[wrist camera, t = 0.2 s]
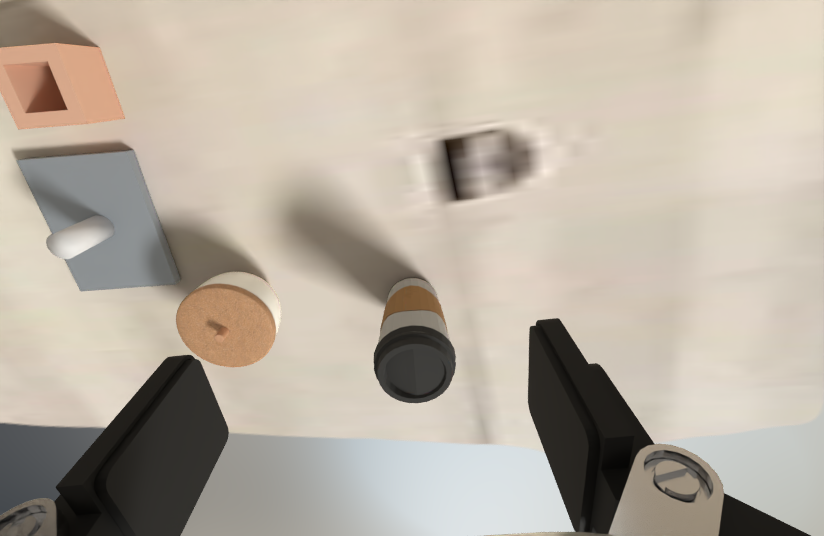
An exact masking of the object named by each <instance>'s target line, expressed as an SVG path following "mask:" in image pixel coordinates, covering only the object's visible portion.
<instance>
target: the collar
mask: <svg viewBox="0 0 824 536" xmlns="http://www.w3.org/2000/svg"><path fill="white" fill-rule="evenodd" d="M0 92H1V94H2V96H3V98H4V100H5V102H6V104H7V106H8V109H9V111H10V113H11V115H12V117H13V119H14V121H15V123H16V125H17V128H18V129H30V128H42V127H54V126H66V125H79V124H90V123H97V122H104V121H111V120H118V119H125V117H124V114H123V111H122V108H121V106H120V103H119V100H118V97H117V95H116V92H115V89H114V86H113V84H112V81H111V78H110V75H109V72H108V70H107V67H106V64H105V61H104V59H103V56H102V53H101V50H100V47H90V46H80V45H71V44H61V43H49V44H37V45H25V46H13V47H2V48H0Z"/></svg>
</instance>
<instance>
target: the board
mask: <svg viewBox="0 0 824 536" xmlns="http://www.w3.org/2000/svg"><path fill="white" fill-rule="evenodd" d="M16 161H17V163H18V165H19V167H20V169H21V171H22V173H23V175H24V177H25V179H26V181H27V183H28V185H29V187H30V189H31V191H32V194H33V196H34V198H35V200H36V202H37V204H38V206H39V208H40V210H41V212H42V214H43V216H44V218H45V220H46V222H47V224H48V226H49V228H50V230H51V232H52V235H50V236H49V237H48V238H47V241H46V244H47V247H48V249H49V250H50V252H51V253H52V254H54V255H55V256H57V257H59V258H62V259H65V261H66V263H67V265H68V267H69V269H70V271H71V273H72V275H73V277H74V279H75V281H76V283H77V285H78V287H79V289H80V291H92V290H106V289H119V288H133V287H146V286H160V285H173V284H177V283H178V282H179V281H180V280H181V279H180V276H179V273H178V271H177V268H176V265H175V262H174V260H173V257H172V254H171V251H170V249H169V246H168V243H167V240H166V238H165V235H164V232H163V229H162V227H161V224H160V221H159V218H158V216H157V213H156V210H155V207H154V205H153V202H152V199H151V196H150V194H149V191H148V188H147V185H146V183H145V180H144V177H143V174H142V172H141V169H140V166H139V163H138V161H137V158H136V155H135V152H134V150H125V151H112V152H100V153H87V154H75V155H62V156H50V157H37V158H26V159H21V160H16Z"/></svg>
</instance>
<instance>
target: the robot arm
mask: <svg viewBox="0 0 824 536" xmlns="http://www.w3.org/2000/svg"><path fill="white" fill-rule="evenodd" d="M528 404H529V410H530V413H531V416H532V419H533V421H534V424H535V427H536V429H537V432H538V435H539V437H540V440H541V443H542V445H543V448H544V451H545V453H546V456H547V458H548V461H549V464H550V467H551V469H552V472H553V475H554V477H555V480H556V483H557V485H558V488H559V490H560V493H561V496H562V499H563V501H564V504H565V507H566V509H567V512H568V515H569V517H570V520H571V522H572V525H573V528H574V530H575V532H538V533H521V534H504V535H487V536H811V535H808V534H806V533H804V532H802V531H800V530H798V529H796V528H794V527H792V526H790V525H788V524H786V523H784V522H782V521H780V520H777V519H776V518H774V517H772V516H770V515H768V514H766V513H763V512H761V511H759V510H757V509H755V508H753V507H751V506H749V505H747V504H745V503H743V502H741V501H739V500H737V499H735V498H733V497H731V496H729V495H727V494H724V491H723V484H722V483H721V480H720V478H719V476H718V475H717V473H716V472H715V471H714V470H713V469H712V468H711V467H710V465H709V464H708V463H706V462H705V461H704V460H702V459H701V458H700V457H698V456H697V455H695V454H693V453H691V452H689V451H687V450H685V449H683V448H679V447H676V446H673V445H666V444H654V443H653V441H652V440H651V438H650V437H649V435H648V434H647V432H646V431H645V429H644V428H643V427H642V425H641V424H640V422H639V421H638V419H637V418H636V416H635V415H634V413H633V412H632V410H631V409H630V408H629V406H628V405H627V403H626V402H625V400H624V399H623V397H622V396H621V394H620V393H619V391H618V390H617V388H616V387H615V386H614V384H613V383H612V381H611V380H610V378H609V377H608V375H607V374H606V372H605V371H604V369H603V368H602V367H601V366H600V365H599V364H597V363H595V364H588V363H587V361H586V359H585V358H584V356H583V355H582V353H581V352H580V350H579V349H578V347H577V345H576V344H575V342H574V341H573V339H572V338H571V336H570V335H569V333H568V331H567V330H566V328H565V327H564V325H563V324H562V322H561V321H560V320H559V319H558V318H556V319H546V320H538V321H537V322H536V326H531V327H530V334H529V379H528ZM228 433H229V432H228V427H227V424H226V422H225V419H224V417H223V415H222V412H221V410H220V407H219V405H218V403H217V400H216V398H215V395H214V393H213V391H212V388H211V386H210V384H209V381H208V379H207V376H206V374H205V372H204V369H203V367H202V364H201V362H200V361H199V360H197V359H195V358H194V357H193V356H192V355H182V356H172V357H168V358H166V359H165V360H164V361H163V363H162V364H161V365H160V366H159V367H158V368H157V370H156V371H155V372H154V373H153V374H152V375H151V377H150V378H149V379H148V380H147V381H146V382H145V384H144V385H143V386H142V387H141V388H140V389H139V391H138V392H137V393H136V394H135V395H134V396H133V397H132V399H131V400H130V401H129V402H128V403H127V404H126V406H125V407H124V408H123V409H122V410H121V411H120V413H119V414H118V415H117V416H116V417H115V418H114V420H113V421H112V422H111V423H110V424H109V425H108V427H107V428H106V429H105V430H104V431H103V433H102V434H101V435H100V436H99V437H98V438H97V439H96V441H95V442H94V443H93V444H92V445H91V447H90V448H89V449H88V450H87V451H86V452H85V453H84V455H83V456H82V457H81V458H80V459H79V460H78V462H77V463H76V464H75V465H74V466H73V468H72V469H71V470H70V471H69V472H68V473H67V474H66V476H65V477H64V478H63V479H62V480H61V482H60V483H59V484H58V485H57V486H56V489H57V490H58V491H59V492H60V494H61V495H60V496H59V497H58V498H57V499H56V500H55V502H54V501H52V500H50V499H48V498H40V499H35V500H32V501H27V502H25V503H23V504H21V505H18V506H16V507H14V508H12V509H11V510H9V511H7V512H6V513H4V514H2V515H1V516H0V536H180V535H181V533H182V531H183V529H184V527H185V525H186V523H187V521H188V519H189V517H190V515H191V513H192V511H193V509H194V507H195V505H196V503H197V501H198V499H199V497H200V495H201V493H202V491H203V488H204V486H205V484H206V483H207V481H208V479H209V477H210V474H211V472H212V470H213V468H214V466H215V464H216V462H217V460H218V458H219V456H220V454H221V452H222V450H223V448H224V446H225V444H226V442H227V439H228Z"/></svg>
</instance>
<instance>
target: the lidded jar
mask: <svg viewBox="0 0 824 536" xmlns="http://www.w3.org/2000/svg"><path fill="white" fill-rule="evenodd" d="M280 321H281V306H280V301H279V298H278V296H277V294H276V292H275V291H274V289H273V288H272V287H271V286H270V285H269V284H268V283H267V282H266V281H265V280H263V279H262V278H260V277H258V276H256V275H253V274H250V273H246V272H228V273H222V274H220V275H217V276H215V277H212V278H211V279H209V280H207V281H206V282H204V283H203V284H201V285H200V286H199V287H198V288H197V289H196V290H194V291H193V292H191V293H190V294H189V295H188V296H187V297H186V298H185V299H184V300H183V301H182V303H181V304H180V306H179V308H178V311H177V315H176V323H177V329H178V332H179V334H180V336H181V338H182V340H183V342H184V343H185V344H186V346H187V347H188V348H189V349H190V350H191V351H192V352H194V353H195V354H196V355H197V356H199V357H201V358H202V359H204V360H206V361H208V362H210V363H213V364H216V365H220V366H226V367H241V366H247V365H250V364H253V363H255V362H257V361H259V360H260V359H262V358H263V357H264V356H265V355H266V354H267V353H268V352H269V350H270V349H271V347H272V345H273V342H274V340H275V336H276V334H277V332H278V329H279V325H280Z"/></svg>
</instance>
